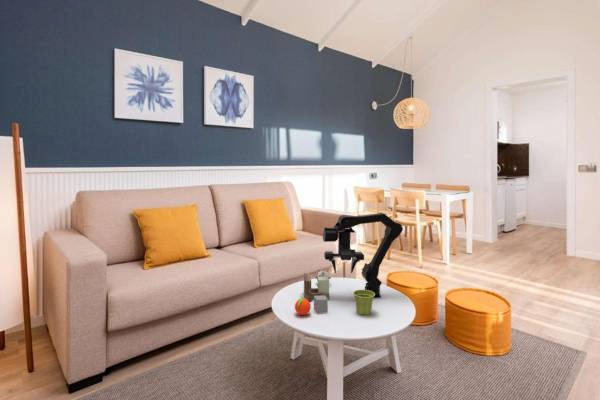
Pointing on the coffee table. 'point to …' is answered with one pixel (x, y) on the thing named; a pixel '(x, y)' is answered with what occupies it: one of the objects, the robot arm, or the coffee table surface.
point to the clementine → (302, 306)
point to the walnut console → (311, 289)
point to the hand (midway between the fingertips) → (343, 273)
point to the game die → (323, 274)
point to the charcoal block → (320, 304)
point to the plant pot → (363, 301)
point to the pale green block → (323, 285)
